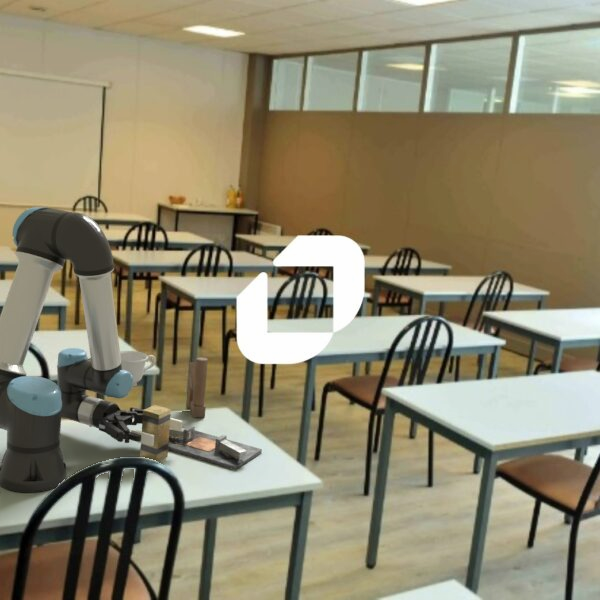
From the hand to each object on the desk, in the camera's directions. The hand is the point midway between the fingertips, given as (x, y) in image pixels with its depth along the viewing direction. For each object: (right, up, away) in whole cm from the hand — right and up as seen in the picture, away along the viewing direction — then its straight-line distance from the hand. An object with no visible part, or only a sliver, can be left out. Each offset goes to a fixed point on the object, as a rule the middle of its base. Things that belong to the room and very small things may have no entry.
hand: (167, 433), depth 190 cm
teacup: (-22, +6, +57) cm, 62 cm away
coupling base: (+8, -6, +12) cm, 15 cm away
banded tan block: (-4, -7, +3) cm, 8 cm away
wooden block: (+2, 0, +38) cm, 38 cm away
